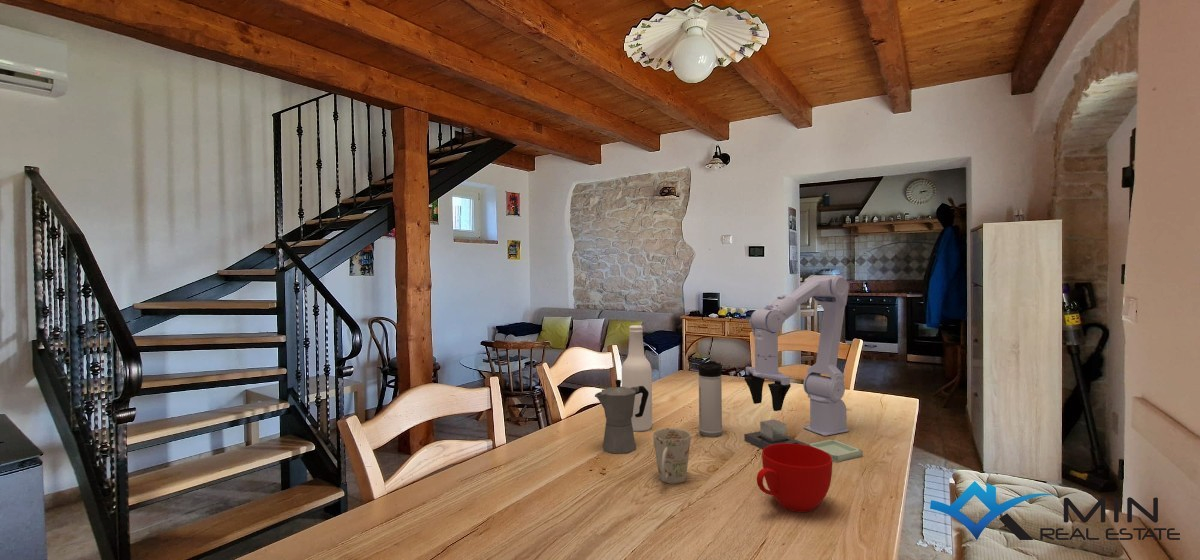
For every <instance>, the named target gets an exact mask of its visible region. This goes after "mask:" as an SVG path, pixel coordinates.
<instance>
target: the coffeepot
mask: <svg viewBox="0 0 1200 560" xmlns="http://www.w3.org/2000/svg"><path fill="white" fill-rule="evenodd" d="M639 393H642V394H643V395H642V398H641V404H640V407H639V413H638V414H635V417H641V416H643V412H644V409H645V405H646V402H647V398H648V395H649V392H648V390H647V389H646V388H645V387H644V386H638V387H631V388H626V387H622V379H615V386H612V387H608V388H604V389H601V391H599V392H597V393H595V394H594V398H596V399H597V400H598V401H599V403H600V404H601V406H602V408H603V410H604V416H605V427H604V434H603V435H604V436H603V441H602V450H603V451H604V452H606V453H609V454H614V455H623V454H630V453H632V452H634V451H636V449H637V446H636V439H635V433H634V431H633V427H632V421H631V417H632V416H633V408H634V400H635V395H636V394H639Z"/></svg>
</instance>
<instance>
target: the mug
mask: <svg viewBox="0 0 1200 560" xmlns="http://www.w3.org/2000/svg"><path fill="white" fill-rule="evenodd" d="M652 435H653V436H652V437H653V444H654V445H653V446H654V451H655V459H656V465H657V466H656V467H657V473H658V474H657V475H658V479H659V480H660V481H661V482H663V483H667V484H680V483H683V482H685V481H686V479H687V476H688V475H687V473H688V465H689V464H688V463H689V456H690V449H691V447H690V446H691V439H692V435H691V433H690V432H689V431H687V430H685V429H682V428H674V427H673V428H672V427H671V428H670V427H668V428H667V427H665V428H660V429H657V430H655V431H654V432H653V433H652Z"/></svg>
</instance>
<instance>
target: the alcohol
mask: <svg viewBox="0 0 1200 560" xmlns="http://www.w3.org/2000/svg"><path fill="white" fill-rule="evenodd" d="M628 328H629V330H628V332H629V336H628V337H629V338H628V353H627V357H626V359H625V360H624V361H623V363H622V365H621V366H622V367H621V387H626V388H631V387H638V386H644V387H645V388H646V389H647V390H648V392H649V395H648V398H647V402H646V405H645V409H644V412H643V416H641V417H635V414H638V413H639V407H640V404H641V398H642V395H643V394H642V393H639V394H636V395H635V400H634V408H633V416H632V417H631V421H632V427H633V432H645V431H646V432H647V431H649V430H651V428H652V426H653V384H652V383H653V381H652V380H653V379H652V378H653V377H652V376H653V375H652V374H653V373H652V369H653V368H652V365H651V363H650V361H649V360H648V358H646V355H645V348H644V347H645V346H644V339H643V337H644V336H643V335H644V334H643V332H644V330H643V328H644V327H643V325H638V324H637V325H636V324H635V325H630V326H629V327H628Z"/></svg>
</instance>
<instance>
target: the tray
mask: <svg viewBox="0 0 1200 560" xmlns="http://www.w3.org/2000/svg"><path fill="white" fill-rule="evenodd" d="M807 444H808V445H810V446H812V447H815V448H818V449H821V450H823V451H825V452H827V453H829V455H830V456H831V457H832V463H833V462H834V463H839V462H842V461H848V460H852V459H857V458H861V457H864V456H863V455H864V454H863V452H864V451H863V449H860V448H857V447H854V446H852V445H850V444H847V443H844V442H842V441H839V440H836V439H833V438H832V439H827V440H821V441H817V442H811V443H807Z"/></svg>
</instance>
